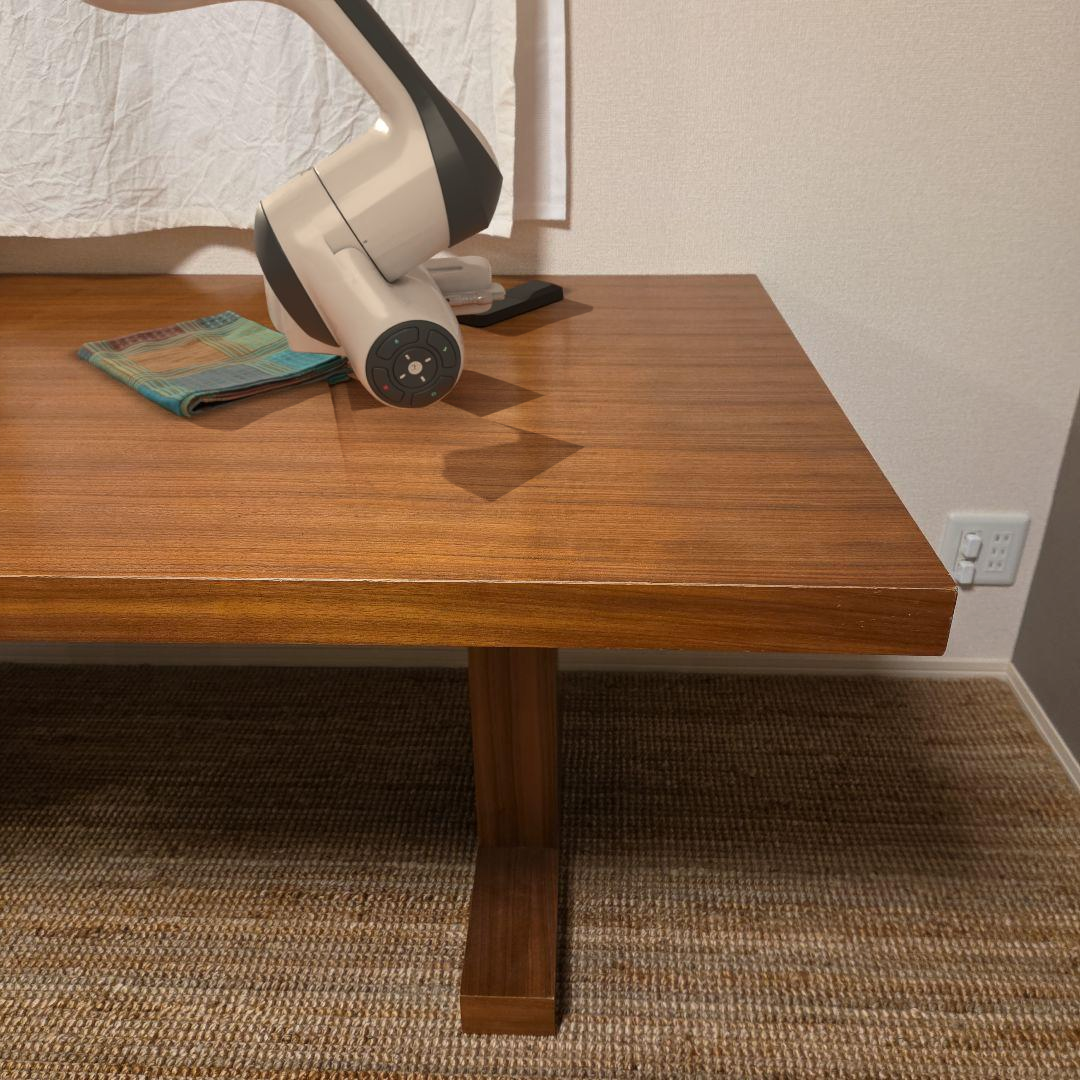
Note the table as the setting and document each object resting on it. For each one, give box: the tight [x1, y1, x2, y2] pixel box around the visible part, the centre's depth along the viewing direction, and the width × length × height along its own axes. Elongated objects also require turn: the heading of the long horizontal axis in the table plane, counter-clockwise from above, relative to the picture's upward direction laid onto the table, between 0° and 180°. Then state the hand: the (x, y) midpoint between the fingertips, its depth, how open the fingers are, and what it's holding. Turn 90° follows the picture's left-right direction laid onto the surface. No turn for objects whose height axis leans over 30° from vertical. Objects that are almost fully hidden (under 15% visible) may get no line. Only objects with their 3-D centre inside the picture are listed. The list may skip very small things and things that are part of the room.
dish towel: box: [77, 310, 355, 418], centre depth 96 cm, size 17×23×3 cm
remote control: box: [455, 279, 565, 328], centre depth 114 cm, size 5×2×15 cm
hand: (372, 268), depth 96 cm, fingers closed on can, 7 cm apart
